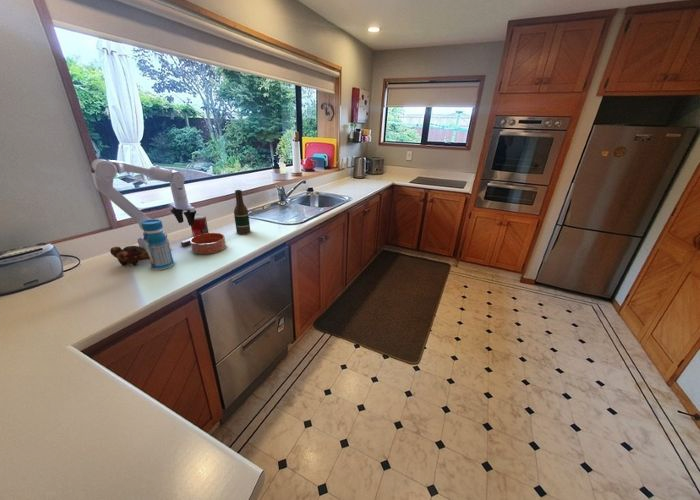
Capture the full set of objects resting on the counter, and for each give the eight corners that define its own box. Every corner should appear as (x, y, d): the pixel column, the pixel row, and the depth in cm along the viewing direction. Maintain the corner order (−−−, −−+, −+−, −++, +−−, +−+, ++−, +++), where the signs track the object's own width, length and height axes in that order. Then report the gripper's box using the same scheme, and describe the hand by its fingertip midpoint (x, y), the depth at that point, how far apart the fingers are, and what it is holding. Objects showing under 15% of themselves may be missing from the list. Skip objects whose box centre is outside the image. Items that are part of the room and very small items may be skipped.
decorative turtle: (118, 259, 124) (114, 242, 121) (157, 259, 128) (155, 242, 125) (106, 269, 115) (102, 250, 112) (149, 268, 119) (146, 250, 116)
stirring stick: (184, 247, 138) (183, 242, 137) (181, 246, 139) (180, 241, 138) (200, 241, 146) (199, 236, 145) (197, 240, 147) (196, 235, 146)
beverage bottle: (163, 271, 115) (151, 225, 107) (146, 269, 117) (132, 223, 109) (179, 262, 123) (168, 219, 115) (162, 260, 124) (151, 217, 116)
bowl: (207, 257, 129) (205, 246, 126) (185, 251, 134) (182, 240, 132) (232, 246, 141) (231, 236, 139) (211, 240, 147) (209, 230, 144)
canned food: (204, 238, 149) (201, 218, 145) (190, 237, 149) (185, 218, 145) (211, 233, 156) (208, 214, 152) (197, 232, 156) (193, 213, 152)
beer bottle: (253, 230, 162) (248, 189, 153) (247, 235, 155) (242, 192, 145) (240, 229, 163) (234, 188, 153) (233, 234, 156) (227, 191, 146)
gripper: (198, 196, 134) (203, 223, 139) (177, 193, 139) (183, 219, 145) (184, 200, 128) (191, 228, 134) (163, 196, 133) (170, 223, 139)
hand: (186, 223), depth 139 cm, fingers open, 7 cm apart
